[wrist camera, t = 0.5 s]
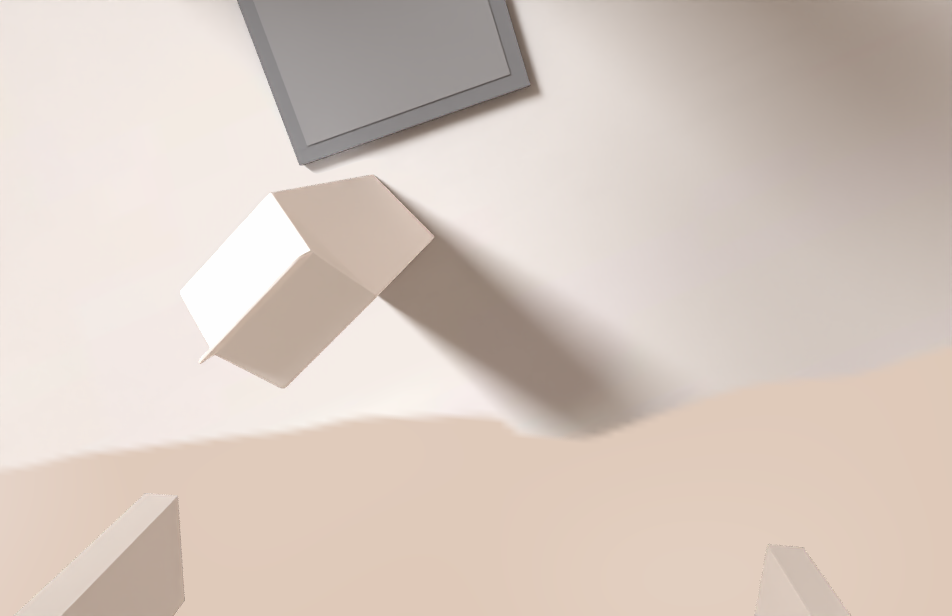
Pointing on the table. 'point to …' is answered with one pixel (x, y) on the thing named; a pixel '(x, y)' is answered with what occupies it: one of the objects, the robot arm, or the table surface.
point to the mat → (379, 64)
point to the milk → (301, 274)
